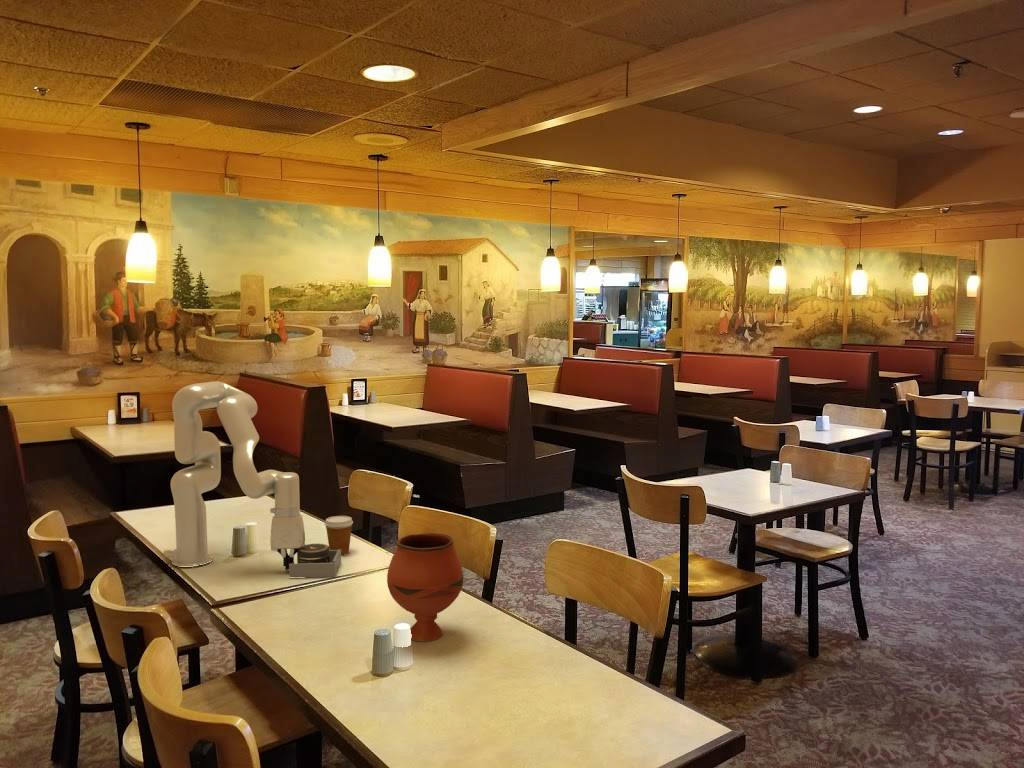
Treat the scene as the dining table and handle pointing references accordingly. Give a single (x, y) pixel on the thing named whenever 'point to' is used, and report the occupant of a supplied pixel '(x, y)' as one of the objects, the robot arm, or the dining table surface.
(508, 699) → the dining table surface
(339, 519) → the disposable coffee cup
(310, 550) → the jar
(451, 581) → the goblet
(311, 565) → the bin
